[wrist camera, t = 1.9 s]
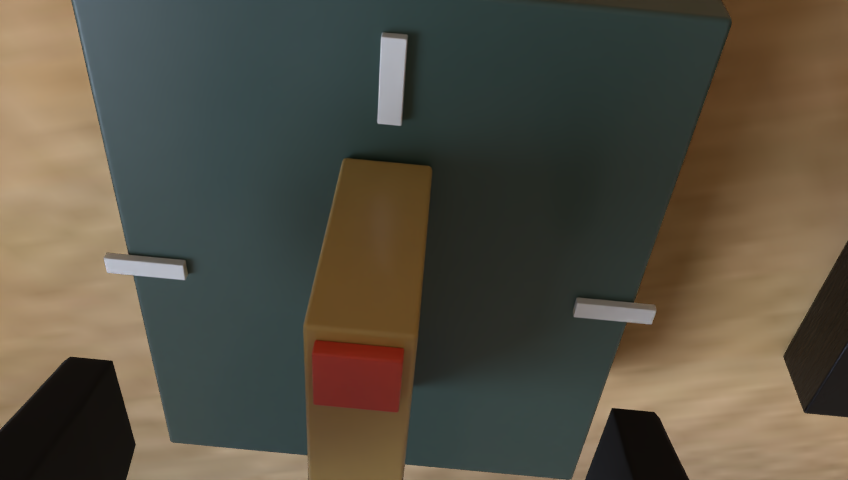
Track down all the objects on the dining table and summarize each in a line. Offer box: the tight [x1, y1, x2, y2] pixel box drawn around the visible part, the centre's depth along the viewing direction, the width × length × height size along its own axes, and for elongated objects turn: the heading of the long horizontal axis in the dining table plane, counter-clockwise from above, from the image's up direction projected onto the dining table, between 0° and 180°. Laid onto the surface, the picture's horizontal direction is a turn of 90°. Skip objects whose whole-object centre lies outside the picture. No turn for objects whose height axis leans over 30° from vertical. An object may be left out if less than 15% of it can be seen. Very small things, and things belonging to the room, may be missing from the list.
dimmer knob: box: [303, 158, 432, 480], centre depth 13 cm, size 6×1×4 cm, turn 176°
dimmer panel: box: [71, 0, 732, 480], centre depth 15 cm, size 11×10×3 cm
